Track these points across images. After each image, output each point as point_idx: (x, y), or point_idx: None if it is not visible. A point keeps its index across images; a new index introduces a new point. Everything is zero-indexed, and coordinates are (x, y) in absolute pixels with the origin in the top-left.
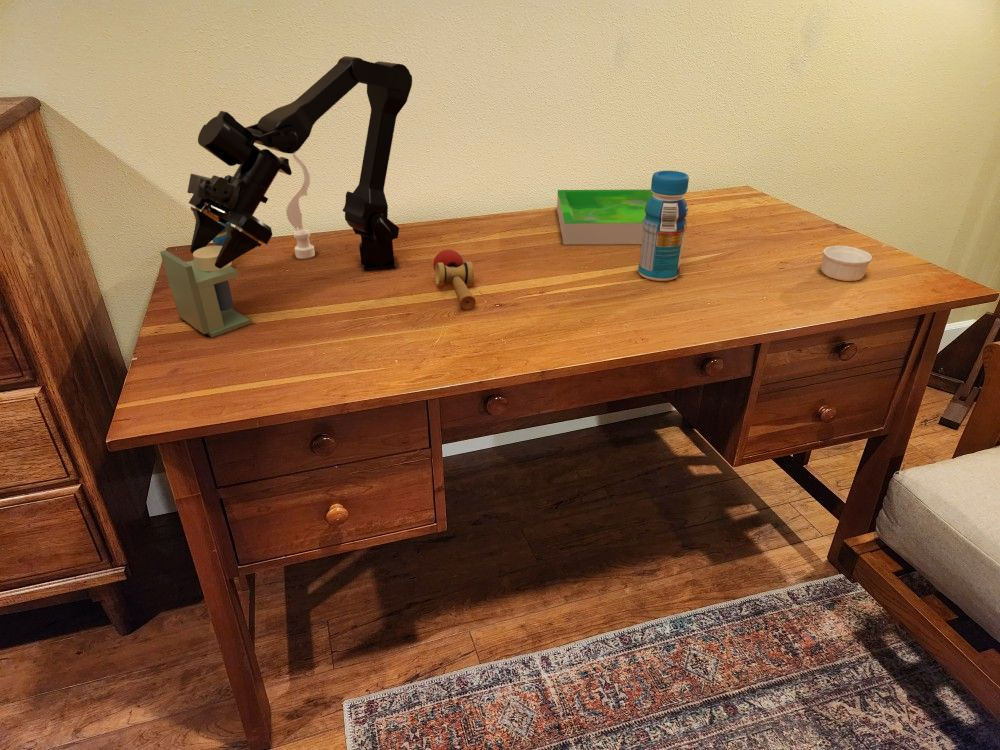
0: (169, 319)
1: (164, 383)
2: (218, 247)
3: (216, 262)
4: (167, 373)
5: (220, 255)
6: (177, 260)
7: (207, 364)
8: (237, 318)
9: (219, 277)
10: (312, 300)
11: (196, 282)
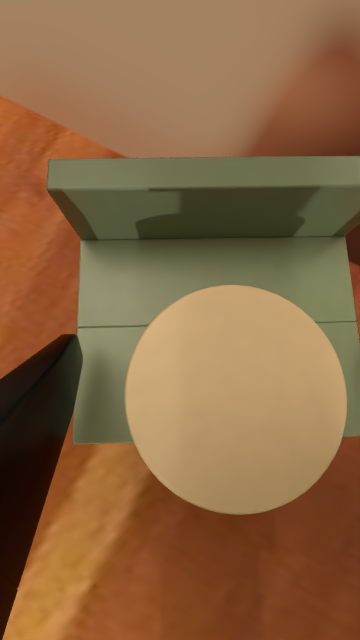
0: None
1: (8, 159)
2: (274, 463)
3: (53, 341)
4: (40, 176)
5: (17, 371)
6: (183, 166)
7: (9, 245)
8: None
9: None
10: (121, 636)
11: (82, 241)
